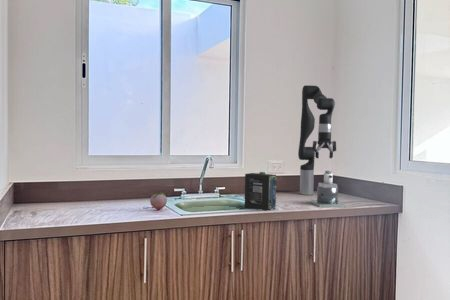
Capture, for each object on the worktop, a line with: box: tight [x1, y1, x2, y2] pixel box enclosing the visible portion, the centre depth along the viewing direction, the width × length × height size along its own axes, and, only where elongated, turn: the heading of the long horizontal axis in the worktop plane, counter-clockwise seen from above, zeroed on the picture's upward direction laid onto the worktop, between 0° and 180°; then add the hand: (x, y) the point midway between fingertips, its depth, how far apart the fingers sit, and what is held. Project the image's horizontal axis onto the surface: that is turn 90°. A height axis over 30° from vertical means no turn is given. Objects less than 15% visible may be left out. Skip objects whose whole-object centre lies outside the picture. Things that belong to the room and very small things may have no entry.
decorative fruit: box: [149, 191, 168, 211], centre depth 202 cm, size 9×8×10 cm
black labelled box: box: [242, 171, 278, 211], centre depth 211 cm, size 8×18×20 cm, turn 53°
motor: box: [309, 182, 347, 208], centre depth 226 cm, size 16×16×12 cm
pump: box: [323, 170, 334, 184], centre depth 225 cm, size 7×5×10 cm
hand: (323, 158), depth 230 cm, fingers open, 8 cm apart
